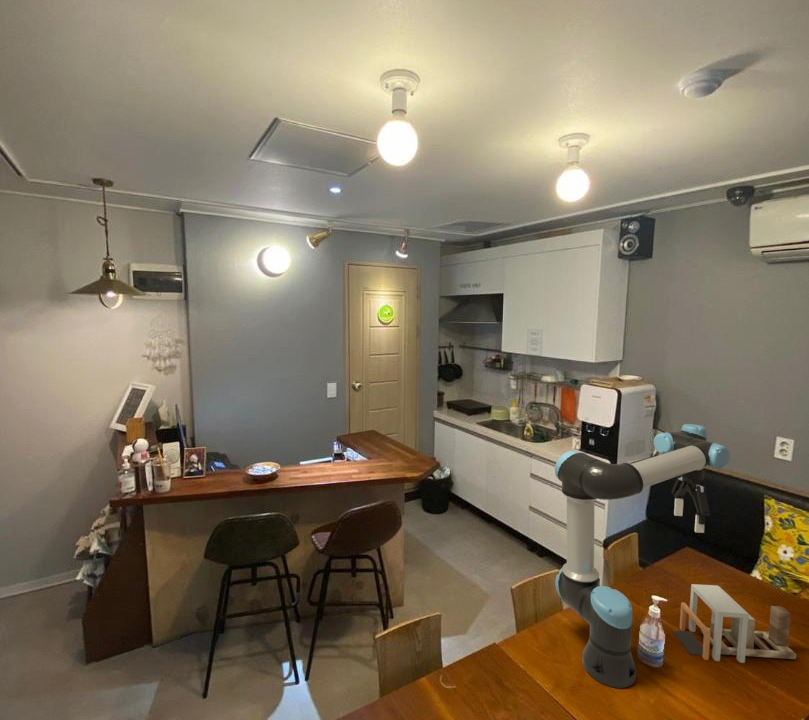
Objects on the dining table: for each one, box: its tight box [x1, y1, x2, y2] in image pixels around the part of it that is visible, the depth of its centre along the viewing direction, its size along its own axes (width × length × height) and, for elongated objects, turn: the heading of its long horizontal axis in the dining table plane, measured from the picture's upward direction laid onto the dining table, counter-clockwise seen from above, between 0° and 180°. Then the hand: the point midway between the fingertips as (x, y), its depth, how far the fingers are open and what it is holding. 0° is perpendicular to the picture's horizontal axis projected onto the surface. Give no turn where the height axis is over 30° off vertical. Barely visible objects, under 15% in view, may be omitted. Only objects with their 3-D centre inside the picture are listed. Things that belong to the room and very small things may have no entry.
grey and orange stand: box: [679, 583, 749, 664], centre depth 146 cm, size 12×15×16 cm
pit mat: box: [671, 630, 710, 657], centre depth 147 cm, size 6×11×1 cm, turn 175°
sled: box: [700, 605, 797, 660], centre depth 145 cm, size 23×10×13 cm, turn 85°
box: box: [730, 613, 756, 649], centre depth 145 cm, size 5×4×11 cm
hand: (688, 523), depth 160 cm, fingers open, 13 cm apart
